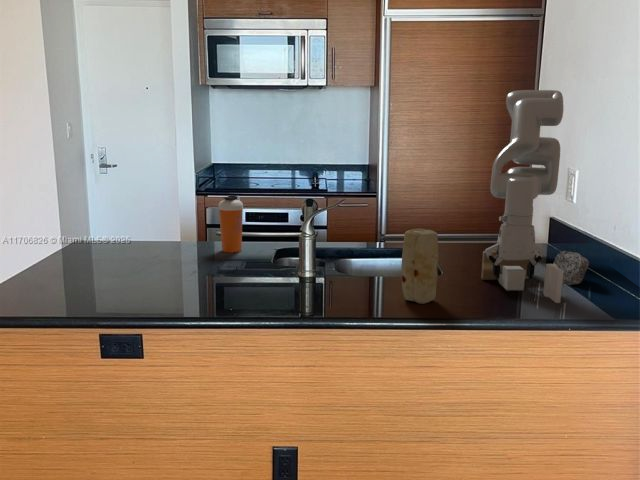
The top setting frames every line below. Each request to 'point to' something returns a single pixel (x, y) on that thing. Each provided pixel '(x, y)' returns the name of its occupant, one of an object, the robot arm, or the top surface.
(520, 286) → the white stepped block
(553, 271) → the door frame
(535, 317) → the top surface
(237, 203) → the shaker bottle
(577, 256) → the rock
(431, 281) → the food model
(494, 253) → the door
